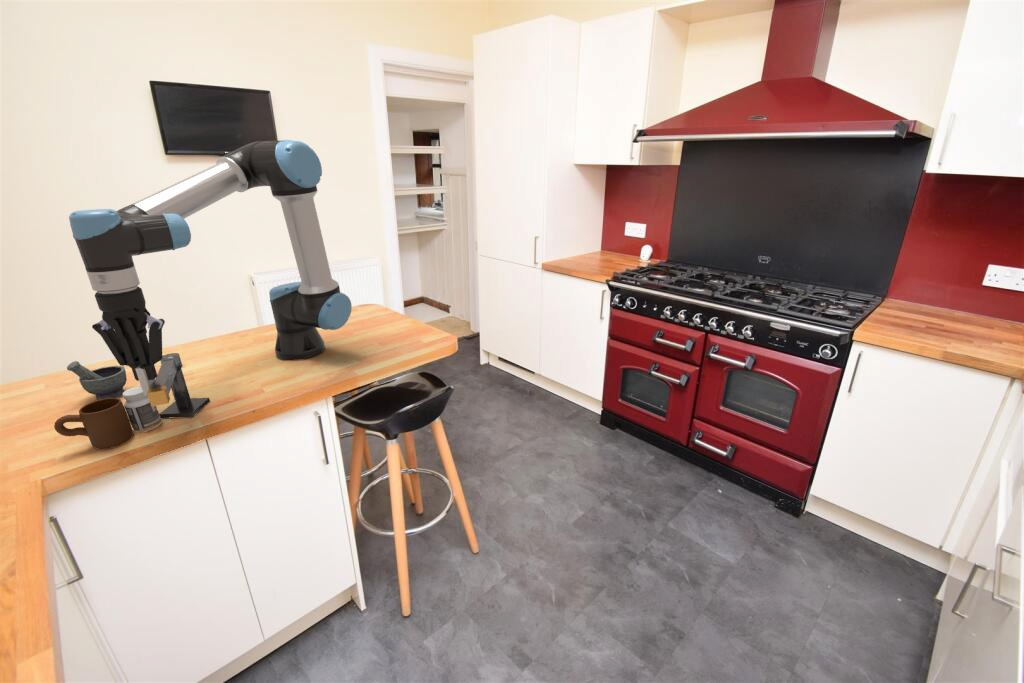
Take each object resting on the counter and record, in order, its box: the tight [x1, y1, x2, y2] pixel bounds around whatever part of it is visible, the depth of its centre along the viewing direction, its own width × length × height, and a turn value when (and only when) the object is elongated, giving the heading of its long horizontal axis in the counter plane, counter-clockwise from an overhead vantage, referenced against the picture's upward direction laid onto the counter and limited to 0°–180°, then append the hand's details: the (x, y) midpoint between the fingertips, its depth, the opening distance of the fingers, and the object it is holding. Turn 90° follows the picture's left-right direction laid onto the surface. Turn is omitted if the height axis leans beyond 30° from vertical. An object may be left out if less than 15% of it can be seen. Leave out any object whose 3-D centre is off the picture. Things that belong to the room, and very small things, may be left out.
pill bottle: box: [122, 385, 162, 433], centre depth 111 cm, size 6×6×10 cm
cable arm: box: [147, 352, 183, 407], centre depth 107 cm, size 23×4×3 cm, turn 28°
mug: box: [53, 397, 134, 450], centre depth 104 cm, size 12×8×9 cm, turn 133°
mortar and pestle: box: [66, 360, 128, 401], centre depth 125 cm, size 11×9×12 cm
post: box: [159, 368, 211, 419], centre depth 118 cm, size 8×8×12 cm
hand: (151, 392), depth 103 cm, fingers closed
